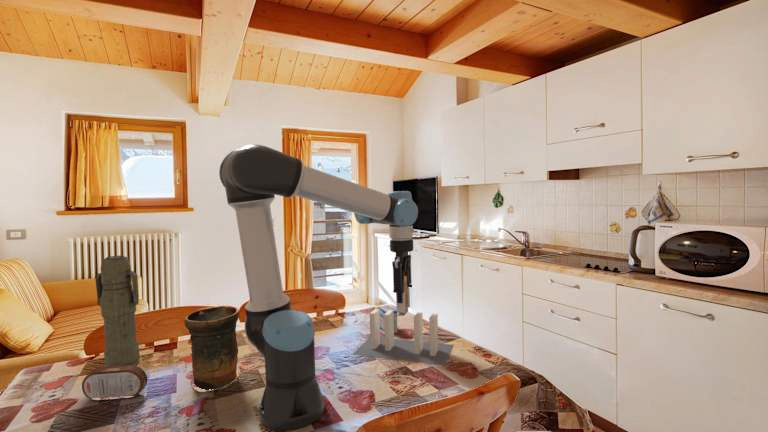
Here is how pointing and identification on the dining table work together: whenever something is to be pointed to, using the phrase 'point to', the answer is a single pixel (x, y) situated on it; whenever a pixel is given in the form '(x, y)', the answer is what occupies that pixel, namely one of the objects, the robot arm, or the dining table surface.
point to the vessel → (213, 346)
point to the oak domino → (405, 297)
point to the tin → (114, 382)
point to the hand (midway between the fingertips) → (403, 309)
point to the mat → (406, 351)
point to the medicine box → (382, 311)
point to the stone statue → (118, 310)
